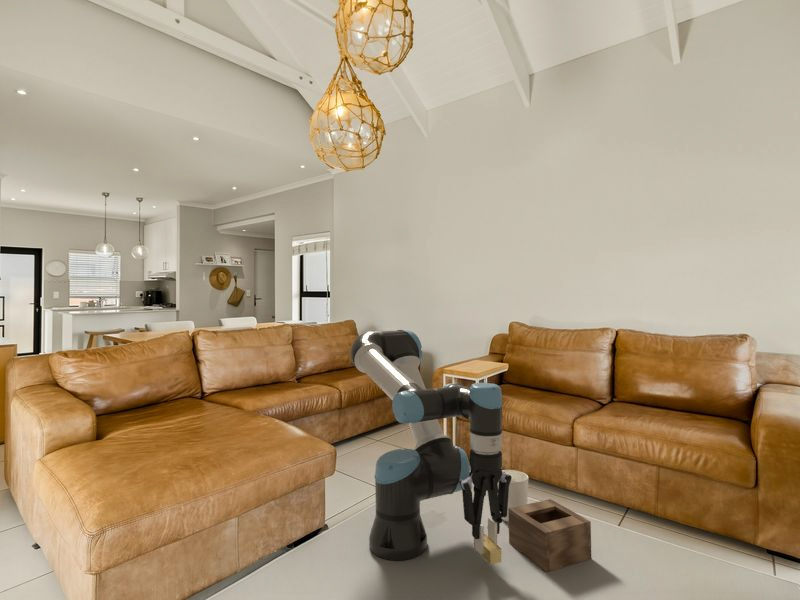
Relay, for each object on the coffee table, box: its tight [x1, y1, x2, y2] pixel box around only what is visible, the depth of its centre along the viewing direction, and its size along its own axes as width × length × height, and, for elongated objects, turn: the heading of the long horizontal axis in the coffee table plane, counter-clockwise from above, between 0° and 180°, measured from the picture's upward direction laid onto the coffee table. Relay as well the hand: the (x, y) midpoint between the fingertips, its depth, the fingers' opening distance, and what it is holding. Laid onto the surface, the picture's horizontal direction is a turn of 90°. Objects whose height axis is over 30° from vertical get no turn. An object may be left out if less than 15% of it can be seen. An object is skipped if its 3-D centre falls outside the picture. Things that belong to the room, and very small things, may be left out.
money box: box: [508, 498, 593, 573], centre depth 110 cm, size 14×14×9 cm
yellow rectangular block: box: [473, 533, 502, 566], centre depth 102 cm, size 3×7×3 cm, turn 22°
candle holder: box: [498, 469, 529, 523], centre depth 129 cm, size 10×10×12 cm
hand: (485, 549), depth 102 cm, fingers closed on yellow rectangular block, 3 cm apart
